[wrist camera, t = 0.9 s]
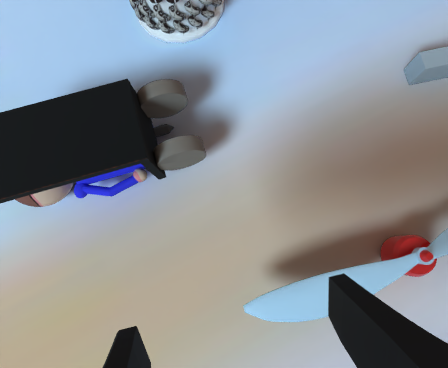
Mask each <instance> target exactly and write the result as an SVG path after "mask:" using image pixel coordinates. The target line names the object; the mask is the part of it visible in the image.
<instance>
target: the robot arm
mask: <svg viewBox="0 0 448 368" xmlns="http://www.w3.org/2000/svg"><path fill="white" fill-rule="evenodd" d="M328 316H329V318H330V320H331V322H332V324H333V327H334V329H335V331H336V333H337V335H338V337H339V339H340V341H341V343H342V344H343V346H344V347H345V349H346V351H347V352H348V354H349V355H350V357H351V359H352V360H353V362H354V363H355V365H356V367H357V368H448V343H446V342H444V341H442V340H441V339H439V338H437V337H436V336H434V335H432V334H431V333H429V332H427V331H426V330H424V329H423V328H421V327H419V326H418V325H416V324H415V323H413V322H412V321H410V320H409V319H407V318H406V317H404V316H403V315H401V314H400V313H398V312H397V311H395V310H394V309H392V308H391V307H390V306H388V305H387V304H385V303H384V302H382V301H381V300H380V299H378V298H377V297H375V296H374V295H373V294H371V293H370V292H369V291H367V290H366V289H365V288H363V287H362V286H361V285H359V284H358V283H356V282H355V281H354V280H352V279H351V278H350V277H348V276H347V275H346V274H344V273H343V274H339V275H335V276H331V277H329V289H328ZM103 368H151V362H150V359H149V357H148V354H147V352H146V349H145V346H144V344H143V341H142V339H141V336H140V334H139V331H138V328H137V326H134V327H130V328H126V329H122V330H119V331H118V333H117V334H116V337H115V339H114V342H113V345H112V347H111V349H110V352H109V354H108V357H107V359H106V361H105V364H104V366H103Z"/></svg>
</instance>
